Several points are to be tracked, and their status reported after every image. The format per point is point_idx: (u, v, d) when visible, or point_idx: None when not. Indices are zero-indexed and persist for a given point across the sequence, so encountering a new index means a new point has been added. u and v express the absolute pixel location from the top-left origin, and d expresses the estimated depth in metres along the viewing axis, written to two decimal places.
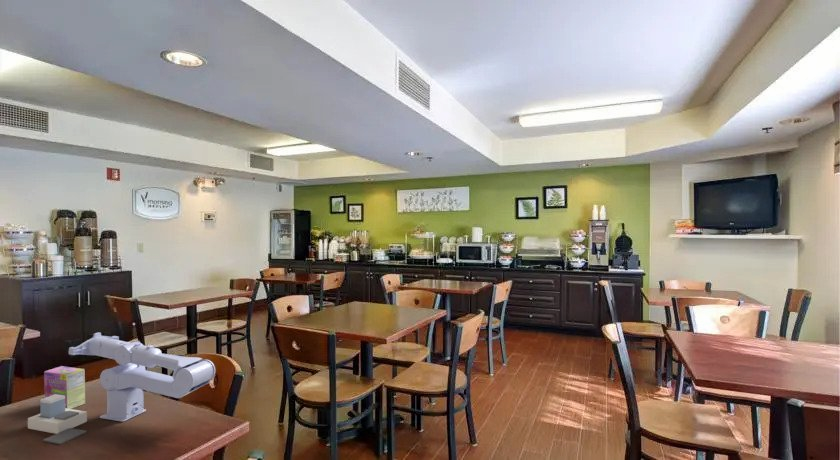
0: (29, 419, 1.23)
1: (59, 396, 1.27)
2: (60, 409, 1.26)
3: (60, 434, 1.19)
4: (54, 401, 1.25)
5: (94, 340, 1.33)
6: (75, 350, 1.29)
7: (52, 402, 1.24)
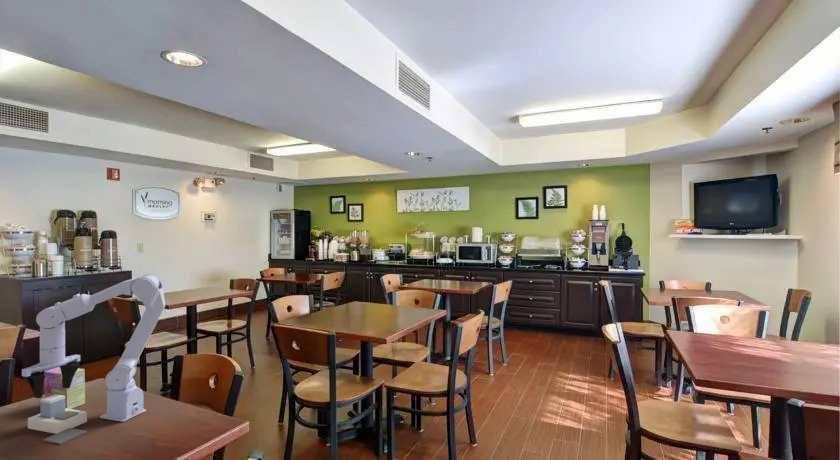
0: (29, 419, 1.23)
1: (59, 396, 1.27)
2: (60, 409, 1.26)
3: (60, 434, 1.19)
4: (54, 401, 1.25)
5: None
6: None
7: (52, 402, 1.24)
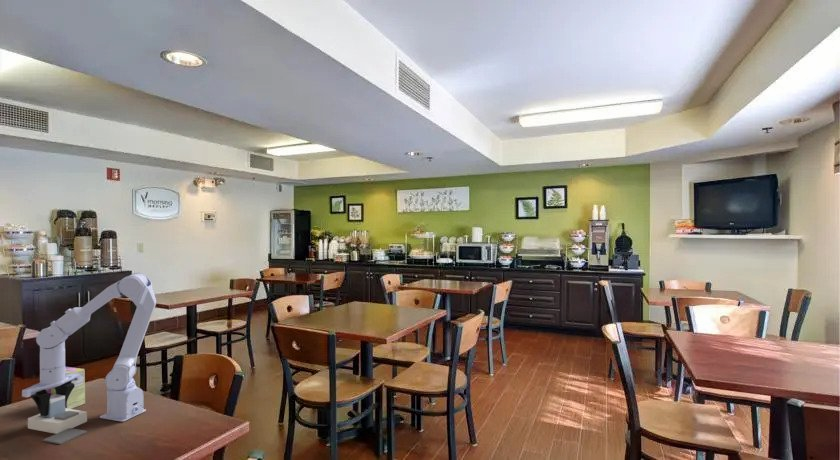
0: (29, 419, 1.23)
1: (59, 396, 1.27)
2: (60, 409, 1.26)
3: (60, 434, 1.19)
4: (54, 401, 1.25)
5: None
6: None
7: (52, 402, 1.24)
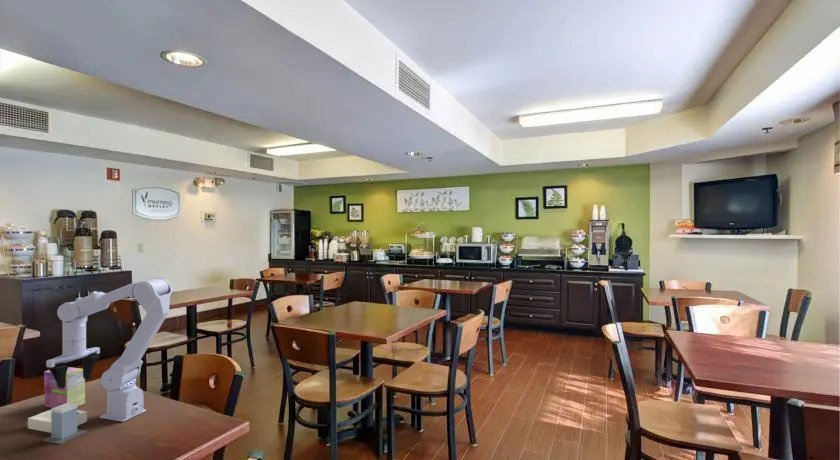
0: (29, 419, 1.23)
1: (71, 405, 1.19)
2: (72, 419, 1.19)
3: None
4: (66, 411, 1.17)
5: None
6: None
7: (64, 411, 1.17)
